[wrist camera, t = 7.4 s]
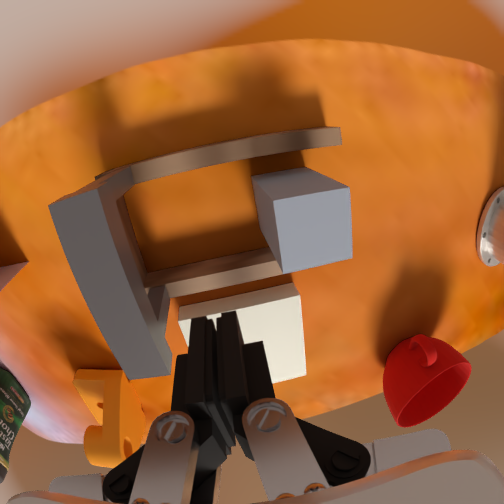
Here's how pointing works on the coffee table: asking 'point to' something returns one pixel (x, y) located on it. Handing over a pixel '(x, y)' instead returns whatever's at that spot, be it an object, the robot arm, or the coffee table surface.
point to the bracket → (110, 416)
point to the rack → (226, 267)
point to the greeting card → (9, 273)
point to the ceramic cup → (422, 378)
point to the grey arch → (113, 276)
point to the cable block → (304, 218)
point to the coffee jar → (10, 416)
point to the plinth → (262, 325)
